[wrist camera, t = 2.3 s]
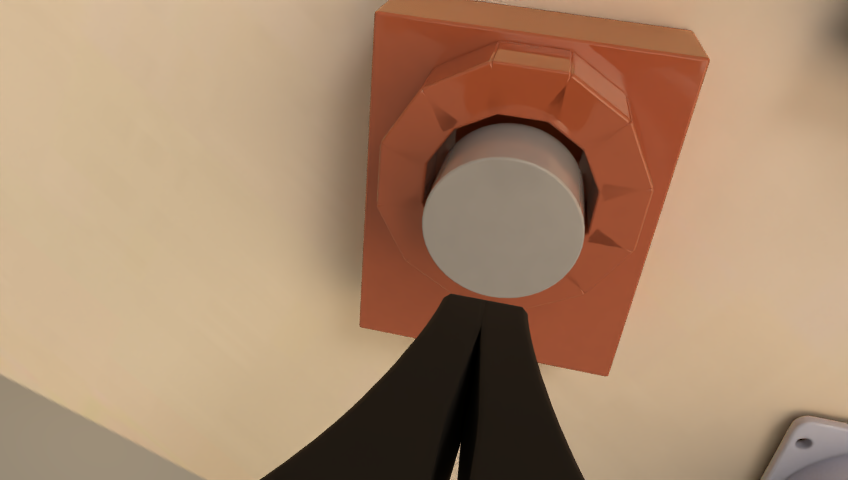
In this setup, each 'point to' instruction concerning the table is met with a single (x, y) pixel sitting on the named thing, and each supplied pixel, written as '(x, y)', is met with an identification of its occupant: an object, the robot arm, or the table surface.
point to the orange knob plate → (538, 107)
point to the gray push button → (506, 211)
